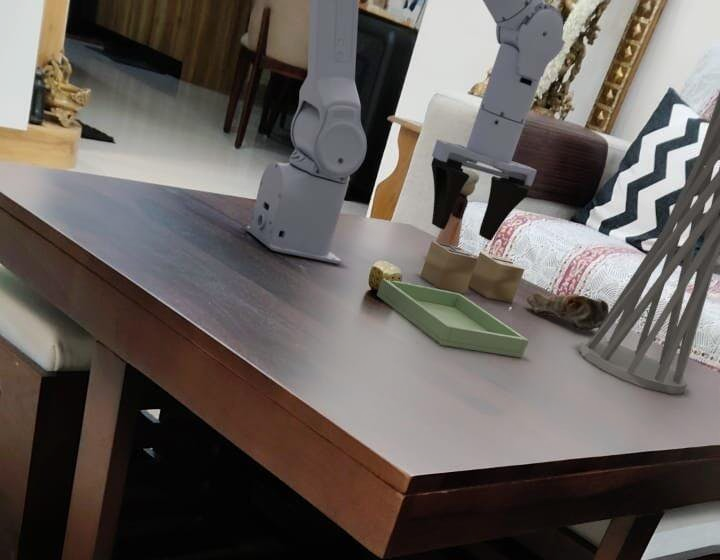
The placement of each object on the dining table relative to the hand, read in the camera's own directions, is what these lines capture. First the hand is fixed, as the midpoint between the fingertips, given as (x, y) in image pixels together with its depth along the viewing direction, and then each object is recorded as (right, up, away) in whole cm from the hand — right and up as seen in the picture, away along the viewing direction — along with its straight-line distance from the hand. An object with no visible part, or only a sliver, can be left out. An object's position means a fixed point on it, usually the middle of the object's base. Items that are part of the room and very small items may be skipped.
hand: (461, 232), depth 125 cm
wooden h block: (-2, -5, +3) cm, 7 cm away
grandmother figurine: (-2, +2, +16) cm, 17 cm away
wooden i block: (+5, -5, +8) cm, 10 cm away
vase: (+20, -19, -4) cm, 28 cm away
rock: (+14, -9, +7) cm, 19 cm away
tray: (-3, -17, -15) cm, 22 cm away
